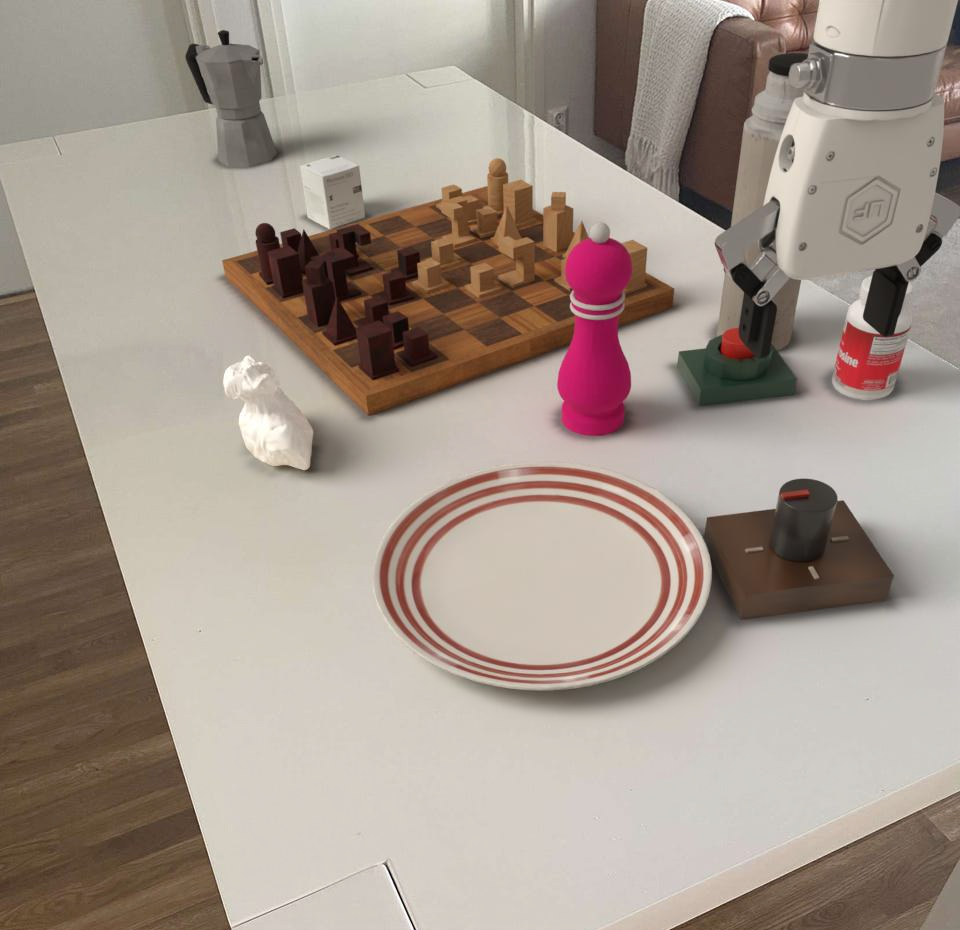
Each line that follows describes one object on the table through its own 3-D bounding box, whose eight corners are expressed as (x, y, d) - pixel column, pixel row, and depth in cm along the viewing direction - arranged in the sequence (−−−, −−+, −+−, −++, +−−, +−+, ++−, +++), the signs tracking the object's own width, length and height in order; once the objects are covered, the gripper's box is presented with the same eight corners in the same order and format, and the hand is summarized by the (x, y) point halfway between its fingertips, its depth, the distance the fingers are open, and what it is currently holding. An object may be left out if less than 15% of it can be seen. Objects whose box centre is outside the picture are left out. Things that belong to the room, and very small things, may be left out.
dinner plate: (706, 728, 72) (712, 697, 70) (339, 694, 76) (332, 663, 74) (708, 500, 92) (712, 469, 89) (414, 482, 96) (411, 452, 93)
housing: (766, 359, 109) (772, 325, 106) (793, 397, 103) (800, 362, 100) (676, 369, 108) (680, 335, 105) (698, 409, 102) (703, 373, 100)
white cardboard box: (330, 232, 138) (322, 176, 133) (307, 219, 142) (298, 164, 137) (366, 219, 141) (360, 164, 136) (343, 207, 144) (335, 153, 139)
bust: (270, 441, 106) (183, 379, 98) (319, 389, 104) (234, 322, 96) (295, 504, 97) (203, 443, 90) (349, 450, 96) (259, 382, 88)
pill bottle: (824, 373, 106) (846, 271, 99) (883, 371, 106) (910, 269, 98) (839, 404, 102) (863, 300, 94) (900, 402, 102) (930, 298, 94)
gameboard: (672, 309, 118) (679, 231, 111) (368, 418, 104) (357, 336, 97) (490, 203, 143) (488, 135, 136) (226, 280, 129) (209, 207, 122)
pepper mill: (615, 397, 105) (627, 202, 91) (638, 434, 100) (653, 233, 86) (548, 408, 104) (549, 212, 90) (567, 446, 99) (571, 245, 85)
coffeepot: (299, 155, 160) (278, 26, 147) (259, 175, 155) (234, 43, 142) (227, 141, 166) (201, 16, 154) (187, 160, 161) (156, 32, 148)
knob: (812, 524, 84) (825, 472, 80) (833, 558, 80) (847, 504, 77) (761, 531, 83) (771, 478, 80) (780, 565, 80) (791, 511, 76)
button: (749, 341, 104) (752, 325, 103) (761, 358, 102) (764, 342, 101) (716, 345, 104) (718, 329, 103) (727, 362, 102) (729, 346, 100)
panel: (836, 527, 88) (843, 498, 86) (885, 603, 81) (894, 573, 79) (702, 544, 87) (706, 515, 85) (740, 623, 80) (745, 593, 78)
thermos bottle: (740, 314, 116) (780, 41, 97) (803, 334, 112) (857, 53, 93) (702, 342, 112) (736, 62, 92) (766, 363, 108) (815, 76, 89)
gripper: (767, 111, 56) (726, 384, 68) (1038, 75, 59) (954, 344, 71) (711, 74, 62) (682, 333, 74) (963, 43, 64) (896, 298, 76)
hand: (816, 338), depth 72 cm, fingers open, 9 cm apart
